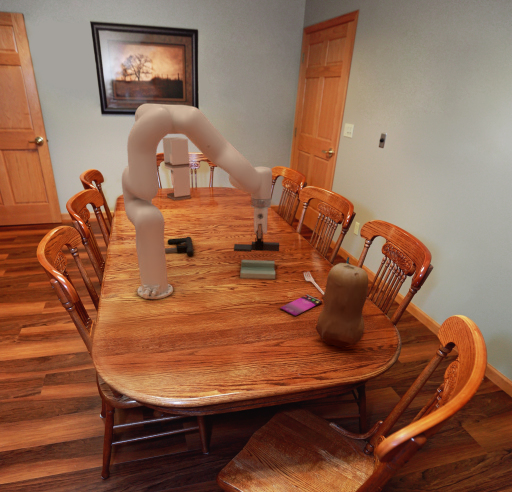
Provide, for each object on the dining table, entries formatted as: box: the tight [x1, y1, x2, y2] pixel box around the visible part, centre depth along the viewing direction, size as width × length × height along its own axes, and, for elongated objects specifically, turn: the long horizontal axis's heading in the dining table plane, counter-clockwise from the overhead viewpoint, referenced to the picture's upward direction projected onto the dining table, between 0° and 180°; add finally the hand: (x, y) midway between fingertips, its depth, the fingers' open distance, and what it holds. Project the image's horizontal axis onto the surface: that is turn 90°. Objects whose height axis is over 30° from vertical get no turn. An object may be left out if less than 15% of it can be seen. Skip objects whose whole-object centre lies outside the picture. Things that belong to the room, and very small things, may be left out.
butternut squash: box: [315, 262, 369, 348], centre depth 115 cm, size 14×13×25 cm
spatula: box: [233, 241, 280, 253], centre depth 160 cm, size 18×6×3 cm, turn 90°
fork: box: [303, 271, 325, 296], centre depth 155 cm, size 3×20×2 cm, turn 16°
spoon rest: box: [239, 259, 276, 280], centre depth 165 cm, size 14×14×2 cm
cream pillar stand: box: [162, 136, 192, 201], centre depth 253 cm, size 11×11×35 cm
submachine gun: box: [165, 236, 196, 257], centre depth 183 cm, size 3×20×16 cm
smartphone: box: [279, 293, 323, 317], centre depth 141 cm, size 7×15×1 cm, turn 134°
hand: (259, 248), depth 160 cm, fingers closed on spatula, 2 cm apart
